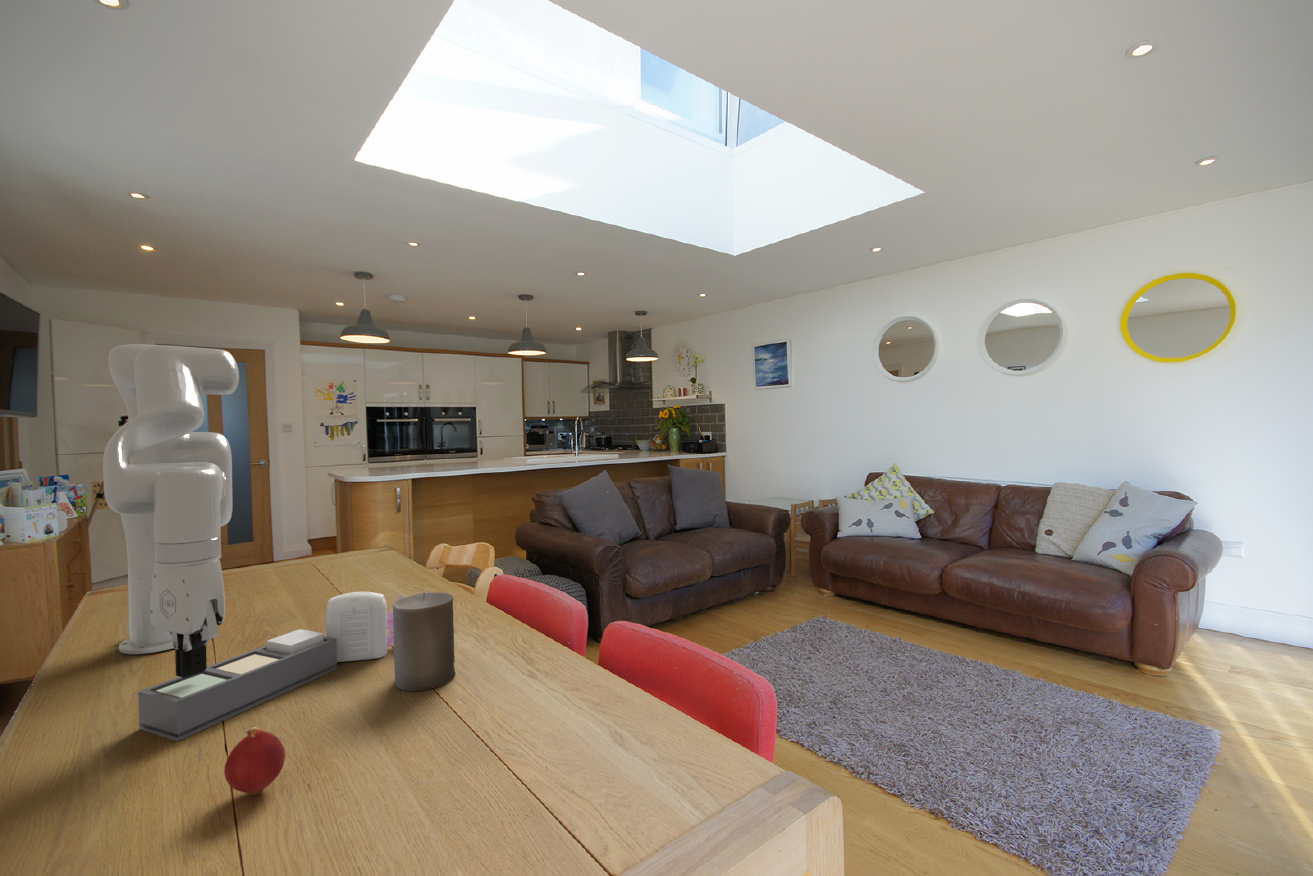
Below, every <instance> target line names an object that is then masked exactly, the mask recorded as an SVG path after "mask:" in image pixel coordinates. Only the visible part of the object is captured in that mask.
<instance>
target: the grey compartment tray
mask: <svg viewBox="0 0 1313 876" xmlns="http://www.w3.org/2000/svg"><path fill="white" fill-rule="evenodd" d="M254 654H256V655H261V656H265V657H270V658H275V659H279V660H276V661H274V662H271V663H269V664H266V665H264V666H261V667H259V668H256V669H254V670H251V671H248V672H246V673H243V674H241V675H239V674H235V673H231V672H226V671H222V670H218V669H216V668H219V667H222V666H224V665H227V664H230V663H232V662H235V661H238V660H241V659H243V658H246V657H249V656H251V655H254ZM336 669H337V670H338V662H337V646H336V639H334V638H329V637H326V636H324V642H322V643H320V644H317V645H315V646H312V647H310V648H307V649H304V650H302V651H299V652H297V653H294V654H292V655H289V654H284V653H279V652H274V651H269V650H267V644H265V645H264V646H261V647H257V648H254V649H252V650H249V651H246V652H243V653H241V654H238V655H235V656H232V657H231V658H228V659H225V660H222V661H219V662H216V663H214V664H211V665H208V666H207V668H206V670H205V671H202V672H200V673H197V674H194V675H192V676H189V677H186V678H182V677H179V676H176V677H175V678H172V679H170V680H167V681H164V682H161V683H159V684H155V685H152V686H149V687H147V688H145V689H144V688H143V689H142V690H138V693H137V694H138V725H139V726H138V729H139V730H140V731H143V732H146V733H150V734H153V735H156V736H159V737H162V738H166V739H169V740H172V741H175V742H180V741H182V740H185V739H186V738H188V737H190V736H193V735H196V734H197V733H199V732H201V731H203V730H206V729H208V728H210V727H213V726H215V725H217V724H219V723H221V722H223V721H226V720H228V719H231V718H233V717H235V716H237V715H240V714H241V713H243V712H246V711H248V710H250V709H253V708H254V707H256V706H259V705H261V704H264V703H266V702H268V701H270V700H272V699H275V698H277V697H279V696H282V695H283V694H286V693H288V692H290V691H293V690H294V689H296V688H299V687H301V686H304V685H306V684H308V683H310V682H312V681H314V680H316V679H318V678H320V677H323V676H325V675H327V674H329V673H331V672H334V671H336ZM200 674H205V675H209V676H213V677H218V678H222V679H226V680H225V681H223V682H220V683H218V684H215V685H213V686H210V687H208V688H205V689H203V690H200V691H197V692H195V693H192V694H190V695H187V696H185V697H182V698H176V697H172V696H168V695H165V694H161V693H157V692H156V690H159V689H162V688H164V687H167V686H170V685H173V684H175V683H178V682H181V681H183V680H186V679H189V678H192V677H194V676H197V675H200Z"/></svg>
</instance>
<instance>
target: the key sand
mask: <svg viewBox="0 0 1313 876" xmlns="http://www.w3.org/2000/svg"><path fill="white" fill-rule="evenodd" d="M276 660H279V659H275V658H270V657H265V656H261V655H256V654H254V655H251V656H249V657H246V658H243V659H241V660H238V661H235V662H232V663H230V664H227V665H224V666H222V667H219V668H216V669H218V670H222V671H226V672H231V673H235V674H239V675H241V674H243V673H246V672H248V671H251V670H254V669H256V668H259V667H261V666H264V665H266V664H269V663H271V662H274V661H276Z"/></svg>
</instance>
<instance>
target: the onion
mask: <svg viewBox="0 0 1313 876" xmlns="http://www.w3.org/2000/svg"><path fill="white" fill-rule="evenodd" d="M246 734H247V735H246V736H244V737H243V738H242V739H241V740H240V741H239V742H238V743H237V744H236V745H235V746H234V747H233V748H232V749H231V751H230V753H229V755H228V757H227V759H226V761H225V764H224V771H223V774H224V778H225V781H226V782H227V784H228V785H229V786H230V787H231V789H233V790H236V791H238V792H241V793H244V794H248V795H250V796H257V795H259V794H261V793H262V792H263V791H264V790H265V789H267V787H269V785H271V784H272V783H273V782H274V781H275V780H276V779H277V777H278V776H279V775H280V773H281V771H282V769H283V767H284V764H285V760H286V751H285V750H286V749H285V747H284V745H283V743H282V741H281V739H280V738H279V737H277V736H276V735H275V734H273V733H271V732H269V731H264V730H262V729H260V728H259V727H258V726H257V727H256V726H255V727H251V728H249V730H248V731H246Z"/></svg>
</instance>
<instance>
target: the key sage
mask: <svg viewBox="0 0 1313 876" xmlns="http://www.w3.org/2000/svg"><path fill="white" fill-rule="evenodd" d="M225 680H226V679H222V678H218V677H213V676H209V675H205V674H200V675H197V676H194V677H192V678H189V679H186V680H183V681H181V682H178V683H175V684H173V685H170V686H167V687H164V688H162V689H159V690H156V692H157V693H161V694H165V695H168V696H172V697H176V698H182V697H185V696H187V695H190V694H192V693H195V692H197V691H200V690H203V689H205V688H208V687H210V686H213V685H215V684H218V683H220V682H223V681H225Z"/></svg>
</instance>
